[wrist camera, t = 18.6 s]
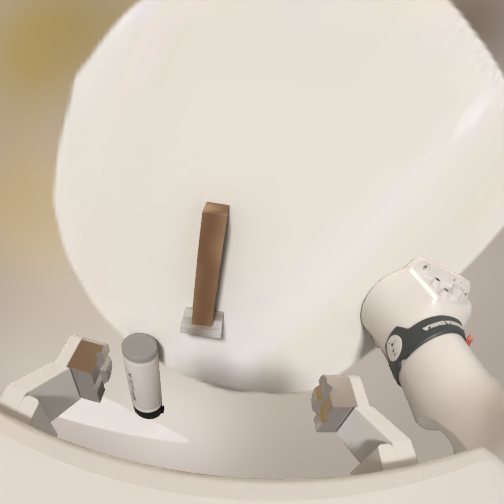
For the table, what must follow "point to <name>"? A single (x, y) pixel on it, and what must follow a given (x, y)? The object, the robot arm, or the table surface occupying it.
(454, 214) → the table surface
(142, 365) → the travel mug
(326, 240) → the table surface
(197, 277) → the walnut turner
